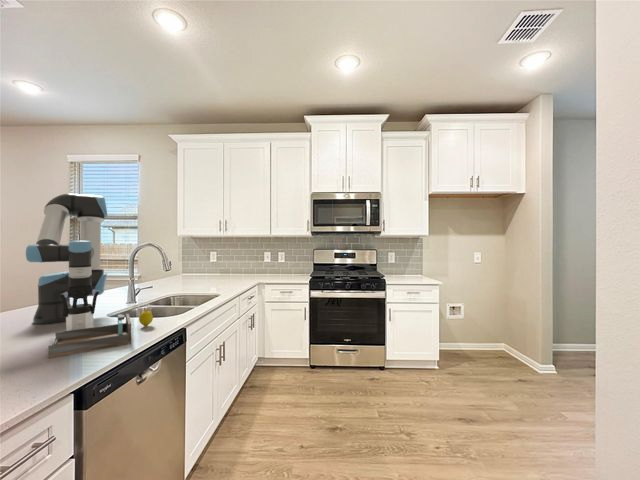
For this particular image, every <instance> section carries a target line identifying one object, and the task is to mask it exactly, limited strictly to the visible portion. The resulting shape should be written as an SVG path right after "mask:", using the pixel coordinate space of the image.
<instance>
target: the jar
mask: <svg viewBox="0 0 640 480" xmlns="http://www.w3.org/2000/svg"><path fill="white" fill-rule="evenodd" d="M72 306H73V304H71V306H69V307H68V308H67V309H68V317H66V321H65V322H66V323H65V328H66V330H65V331H70V330H77V329H85V328H92V327H94V314H91V308H92V303H88V306H84V303H79V304H78V303H77V306H76V307H72Z"/></svg>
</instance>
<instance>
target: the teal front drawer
mask: <svg viewBox="0 0 640 480" xmlns="http://www.w3.org/2000/svg"><path fill="white" fill-rule="evenodd" d="M126 345H132V321H131V317H130V314H129V313H125V322H124V323H123V322H122V334H121V335H118V323H114V324H109V325H100V326H93V327H92V328H85V329H77V330H70V331H66V330H65V331H64V330H63V331H56V332H55V338H54V341H53V343H52V345H48V347H47V349H48V350H47V353H48V354H47V355H48V356H47V357H48V359H51V358H57V357H58V358H59V357H64V356H69V355H75V354H81V353H85V352H86V353H87V352H91V351H97V350H98V351H99V350H103V349H104V350H105V349H110V348H115V347H121V346H126Z"/></svg>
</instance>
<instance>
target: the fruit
mask: <svg viewBox="0 0 640 480" xmlns="http://www.w3.org/2000/svg"><path fill="white" fill-rule="evenodd" d="M153 320H154V316H153V313H152V311H149V310H148V309H145V310H144V311H142V312H141V313H140V315H139V318H138V321H139V324H141V326H142V325H143V327H145V328H146V327H148V326H149V325H150V324H151V323H152V322H153Z"/></svg>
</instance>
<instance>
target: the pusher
mask: <svg viewBox="0 0 640 480" xmlns="http://www.w3.org/2000/svg"><path fill="white" fill-rule="evenodd" d="M123 320H125V315H124V314H117V324H118V335H121V334H122V323H123Z"/></svg>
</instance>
